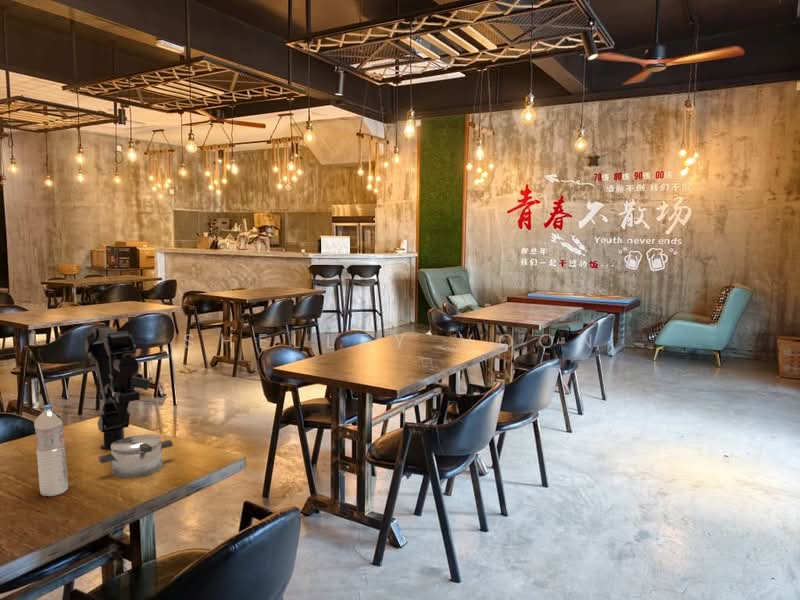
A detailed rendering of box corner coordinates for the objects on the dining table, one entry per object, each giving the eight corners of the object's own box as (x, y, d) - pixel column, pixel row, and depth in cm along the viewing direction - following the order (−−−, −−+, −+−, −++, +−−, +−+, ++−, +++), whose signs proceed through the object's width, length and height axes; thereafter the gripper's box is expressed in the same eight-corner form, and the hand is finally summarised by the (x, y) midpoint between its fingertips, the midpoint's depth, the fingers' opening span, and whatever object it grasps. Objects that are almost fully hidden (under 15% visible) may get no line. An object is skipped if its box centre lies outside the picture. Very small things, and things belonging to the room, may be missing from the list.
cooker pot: (94, 469, 175) (92, 447, 174) (163, 452, 189) (162, 431, 188) (107, 485, 164) (105, 462, 163) (180, 466, 177) (178, 444, 176)
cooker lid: (105, 445, 176) (105, 440, 176) (152, 434, 185) (152, 429, 185) (122, 458, 162) (122, 453, 162) (172, 446, 171) (172, 441, 171)
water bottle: (58, 497, 157) (51, 409, 154) (34, 497, 157) (27, 409, 154) (73, 486, 163) (67, 402, 161) (50, 486, 164) (43, 402, 161)
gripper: (155, 371, 180) (158, 419, 182) (138, 362, 195) (141, 407, 196) (117, 377, 173) (120, 426, 175) (102, 367, 188) (105, 413, 189)
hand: (123, 418), depth 184 cm, fingers closed
